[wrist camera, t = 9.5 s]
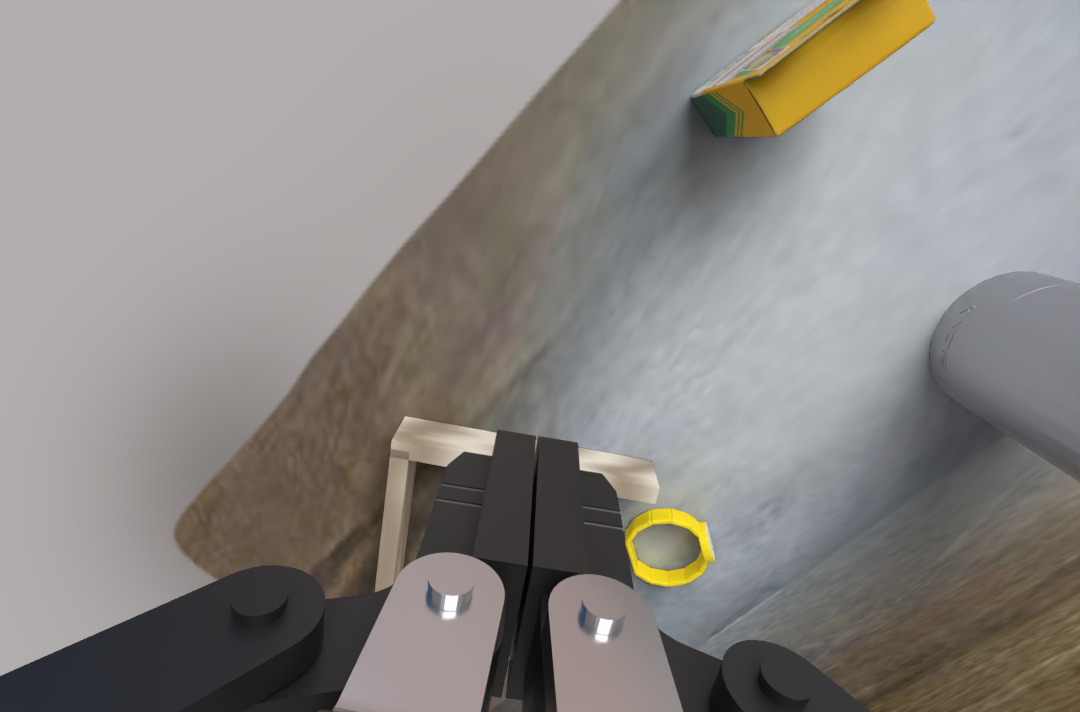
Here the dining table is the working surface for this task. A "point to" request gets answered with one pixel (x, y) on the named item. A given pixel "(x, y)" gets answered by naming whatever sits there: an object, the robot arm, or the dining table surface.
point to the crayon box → (807, 64)
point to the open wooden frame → (449, 441)
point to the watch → (676, 575)
